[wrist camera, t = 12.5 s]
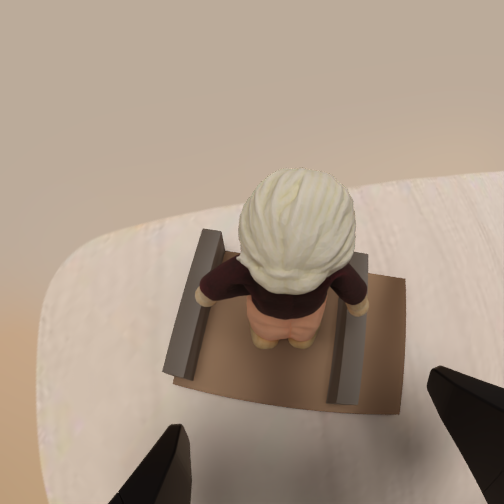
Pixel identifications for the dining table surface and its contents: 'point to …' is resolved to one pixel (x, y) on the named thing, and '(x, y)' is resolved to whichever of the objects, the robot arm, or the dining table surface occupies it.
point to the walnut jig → (288, 357)
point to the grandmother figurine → (291, 258)
